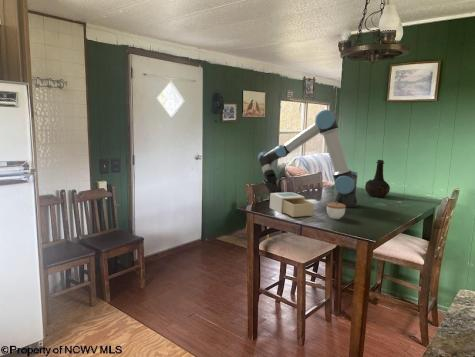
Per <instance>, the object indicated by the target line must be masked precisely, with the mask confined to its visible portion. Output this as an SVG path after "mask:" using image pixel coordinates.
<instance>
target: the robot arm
mask: <svg viewBox="0 0 475 357" xmlns="http://www.w3.org/2000/svg"><path fill="white" fill-rule="evenodd" d="M338 130H339V125H338V116H337V114H336V113H335V112H334V111H332V110H329V109H323V110H321V111H319V112H318V113H317V114H316V116H315V120H314V123H313V124H311V125H310V126H308V127H306V129H304V130H302V131H301V132H299V133H298V134H297V135H296V136H294V137H292V138H290V140H288V141H287V142H285V143H284V144H282V145H281V144H280V145H276V147H274V148H273V149H271V150H269V151H268V152H267V151H262V152H259V154H258V155H257V160H258V162H259V165H260V167H261V168H260V169H261V170H262V172H263V177H264V180H263V182H262V184H263V185H264V186H265V187H266V189H267V191H268V192H269V193H282V184H281V183H282V179H278V177H277V175H276V172H275V169H274V166H273V164H272V163H274V162H276V161H277V160H279V159H282V158H285V157H287V156H288V155H289V154H291V153H292V152H294V151H295V150H297V149H298V148H300V147H301V146H303V145H304V144H306V143H307V142H308V141H310V140H311V139H313V138H314V137H316V136H317V135H319V134H320V135H321V136H323V138H324V142H325V146H326V148H327V152H328V155H329V158H330V159H329V160H330V163H331V166H332V168H333V174H332V177H333V181H334V188H335V190H336V191H337V192H336V195H335V198H334V200H333V203H335V202H337V203H341V204H344V205H346V208H356V207H358V199H357V194H356V191H357V181H358V172H357V171H352V169H351V168H348V167H349V166H348V164H347V161H346V157H345V154H344V151H343V148H342V144H341V141H340V137H339V133H338Z"/></svg>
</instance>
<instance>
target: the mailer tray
mask: <svg viewBox="0 0 475 357" xmlns="http://www.w3.org/2000/svg"><path fill="white" fill-rule="evenodd" d="M314 208H315V203H314V202H312V201H308V200H307V199H301V198H296V199H283V204H282V212H284V213H283V214H286V215H288V216H290V217H292V218H295V217H296V218H297V217H309V216H314V211H315V210H314Z"/></svg>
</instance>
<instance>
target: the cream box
mask: <svg viewBox="0 0 475 357" xmlns="http://www.w3.org/2000/svg"><path fill="white" fill-rule="evenodd" d="M269 193H270V192H269ZM269 195H270V196H269V198H270V199H269V209H271V210H273V211H274V212H277V213H279V214H285V213H284V212H282V204H283V199H296V198H301V199H304V200H306V198H305V196H303V195H302V194H298V193H296V192H293V191H291V192H289V191H288V192H287V191H286V192H285V191H284V192H281V193H270V194H269Z"/></svg>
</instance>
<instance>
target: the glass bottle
mask: <svg viewBox="0 0 475 357" xmlns="http://www.w3.org/2000/svg"><path fill="white" fill-rule="evenodd" d="M375 162H376V169H375V174H374V177H373V179H371V178H370V179H369V180H367V181H366V182H365V185H364V189H365V191H366V193H367V194H368V195H369V196H371V197H373V196H375V197H374V198H382V197H385V196H387V195H388V194H389V193H390V190H391V189H390V188H391V187H390V184H389V183H388V182H387V181H386V180H385V178H384V164H385V162H384V160H383V159H377V161H375Z"/></svg>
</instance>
